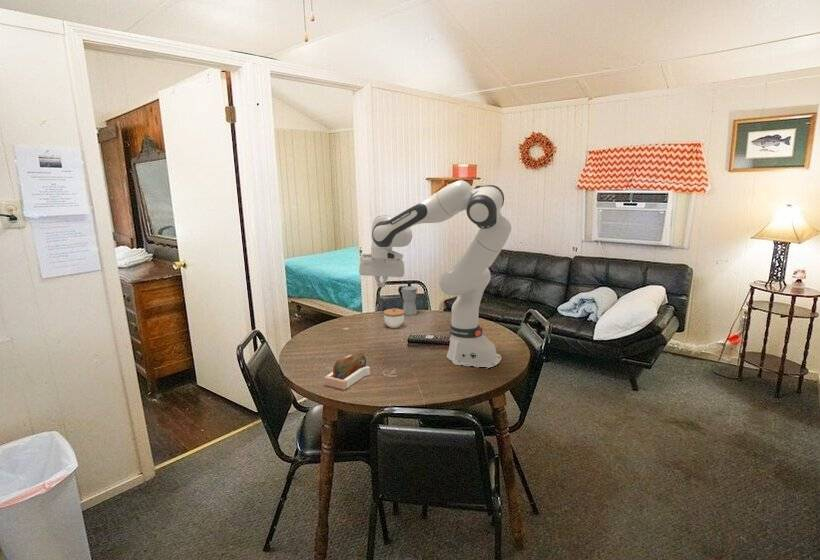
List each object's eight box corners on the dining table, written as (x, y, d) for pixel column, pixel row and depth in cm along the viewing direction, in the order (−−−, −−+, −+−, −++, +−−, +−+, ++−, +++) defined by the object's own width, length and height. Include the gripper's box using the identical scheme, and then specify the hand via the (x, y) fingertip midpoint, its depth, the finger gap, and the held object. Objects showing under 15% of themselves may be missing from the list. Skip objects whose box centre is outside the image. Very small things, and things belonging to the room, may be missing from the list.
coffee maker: (423, 314, 244) (423, 282, 239) (411, 317, 238) (411, 285, 233) (404, 308, 254) (404, 278, 250) (393, 311, 248) (392, 280, 244)
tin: (337, 384, 160) (336, 363, 158) (332, 382, 162) (330, 361, 160) (367, 371, 172) (366, 350, 170) (361, 368, 174) (360, 349, 172)
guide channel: (371, 374, 169) (370, 366, 168) (347, 390, 155) (347, 383, 155) (345, 368, 174) (345, 361, 173) (321, 384, 161) (320, 376, 160)
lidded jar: (380, 324, 227) (380, 307, 224) (399, 321, 231) (399, 304, 229) (388, 330, 217) (388, 312, 215) (408, 327, 221) (407, 309, 219)
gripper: (356, 253, 187) (356, 286, 188) (400, 255, 179) (399, 288, 180) (363, 253, 193) (363, 285, 194) (406, 255, 185) (405, 287, 186)
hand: (381, 286), depth 187 cm, fingers closed
